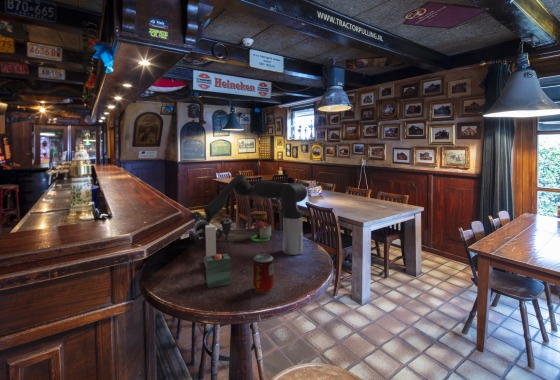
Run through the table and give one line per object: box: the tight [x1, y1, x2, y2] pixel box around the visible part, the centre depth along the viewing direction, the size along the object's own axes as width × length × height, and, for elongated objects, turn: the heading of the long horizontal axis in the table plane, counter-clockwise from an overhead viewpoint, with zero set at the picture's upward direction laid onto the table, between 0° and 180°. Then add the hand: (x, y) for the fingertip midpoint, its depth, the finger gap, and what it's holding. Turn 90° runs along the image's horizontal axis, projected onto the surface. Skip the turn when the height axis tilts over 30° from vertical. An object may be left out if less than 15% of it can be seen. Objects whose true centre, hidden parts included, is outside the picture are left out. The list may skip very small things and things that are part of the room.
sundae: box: [219, 212, 233, 243], centre depth 162 cm, size 7×7×15 cm
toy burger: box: [250, 210, 272, 243], centre depth 164 cm, size 12×13×15 cm
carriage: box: [203, 224, 217, 268], centre depth 123 cm, size 6×5×17 cm
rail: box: [205, 253, 232, 289], centre depth 119 cm, size 26×8×10 cm, turn 22°
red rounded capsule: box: [214, 253, 222, 260], centre depth 109 cm, size 3×3×5 cm
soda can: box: [252, 253, 274, 294], centre depth 105 cm, size 7×7×12 cm
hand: (208, 238), depth 128 cm, fingers open, 8 cm apart
